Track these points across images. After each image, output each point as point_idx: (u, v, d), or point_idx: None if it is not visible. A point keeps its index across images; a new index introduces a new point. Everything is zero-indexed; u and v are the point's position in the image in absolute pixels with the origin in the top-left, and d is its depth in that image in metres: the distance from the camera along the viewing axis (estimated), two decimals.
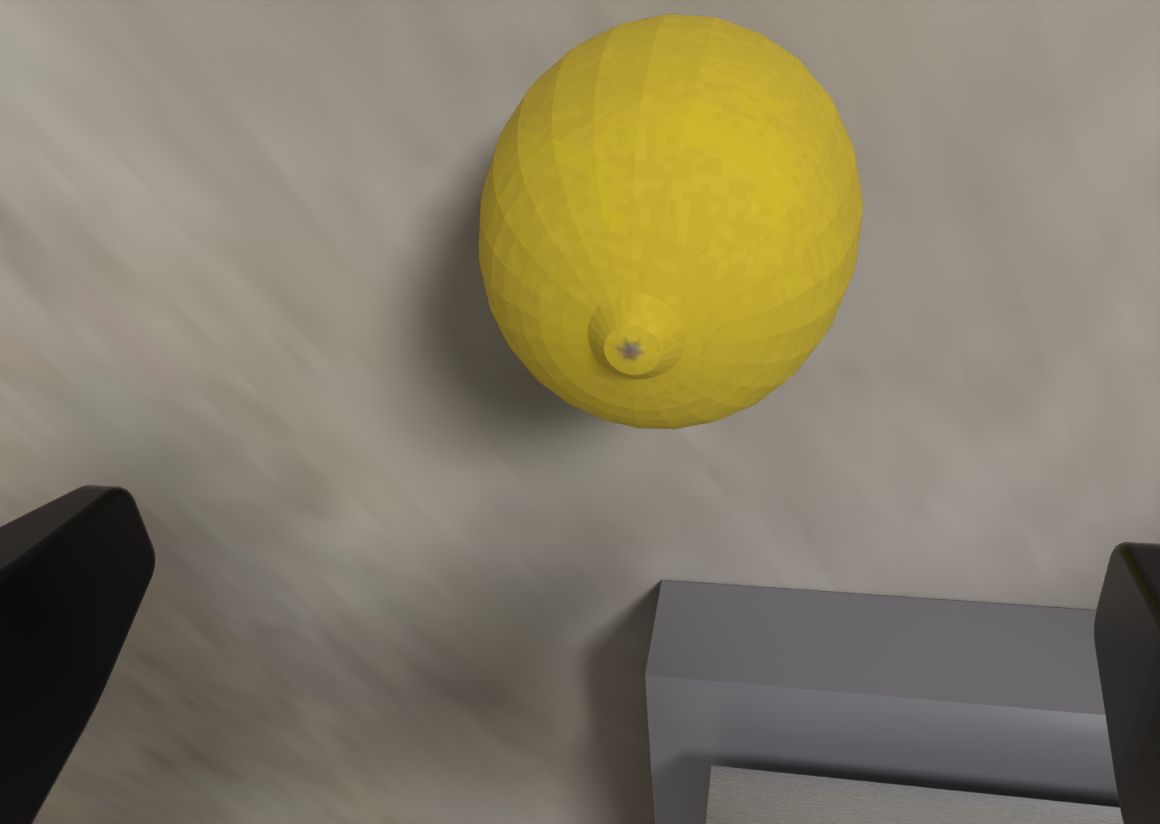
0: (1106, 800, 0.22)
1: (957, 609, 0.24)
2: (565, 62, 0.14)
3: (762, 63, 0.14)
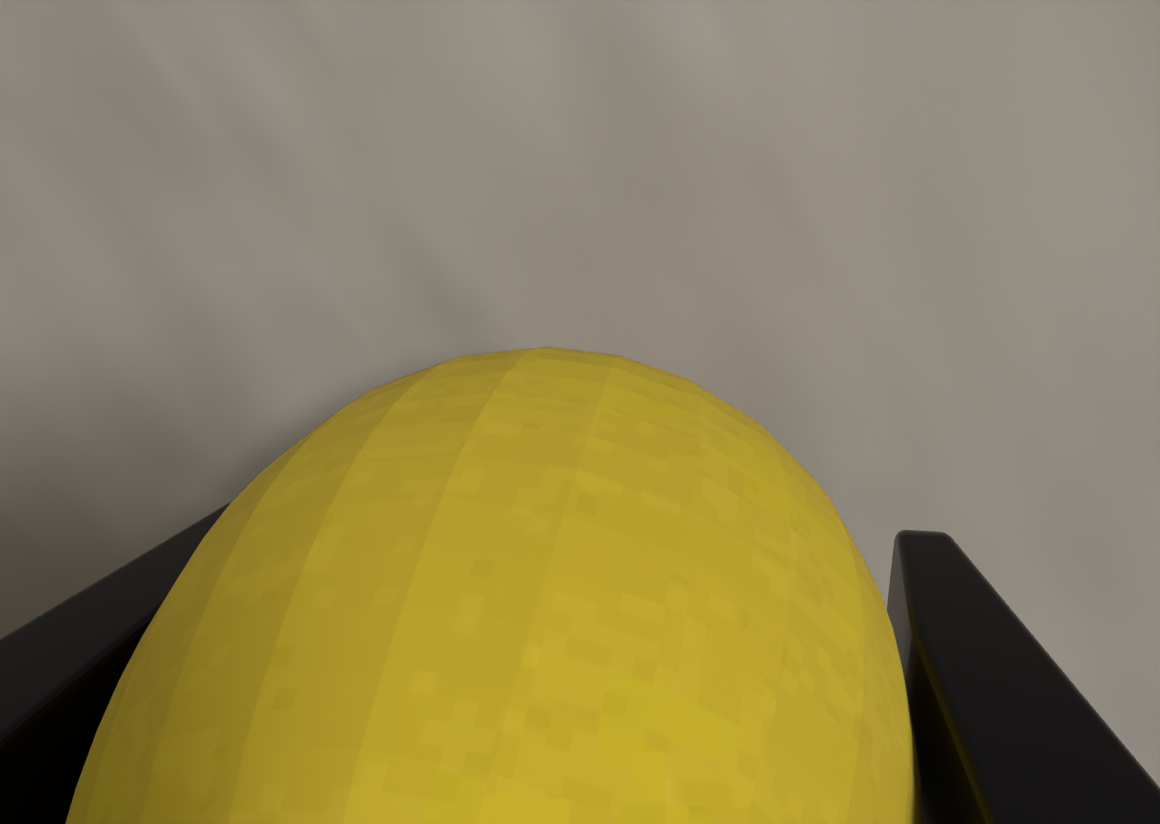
0: None
1: None
2: (251, 525, 0.06)
3: (693, 579, 0.06)
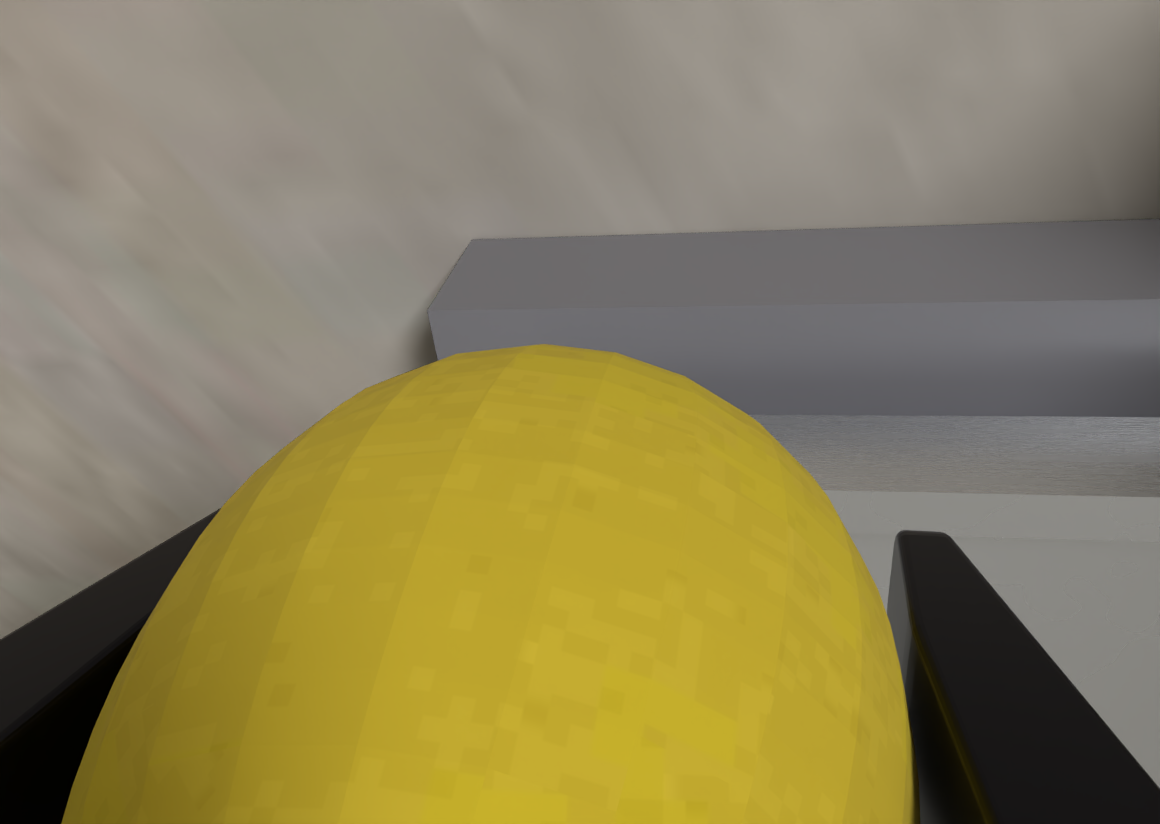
0: None
1: (815, 235, 0.19)
2: (248, 522, 0.06)
3: (689, 575, 0.06)
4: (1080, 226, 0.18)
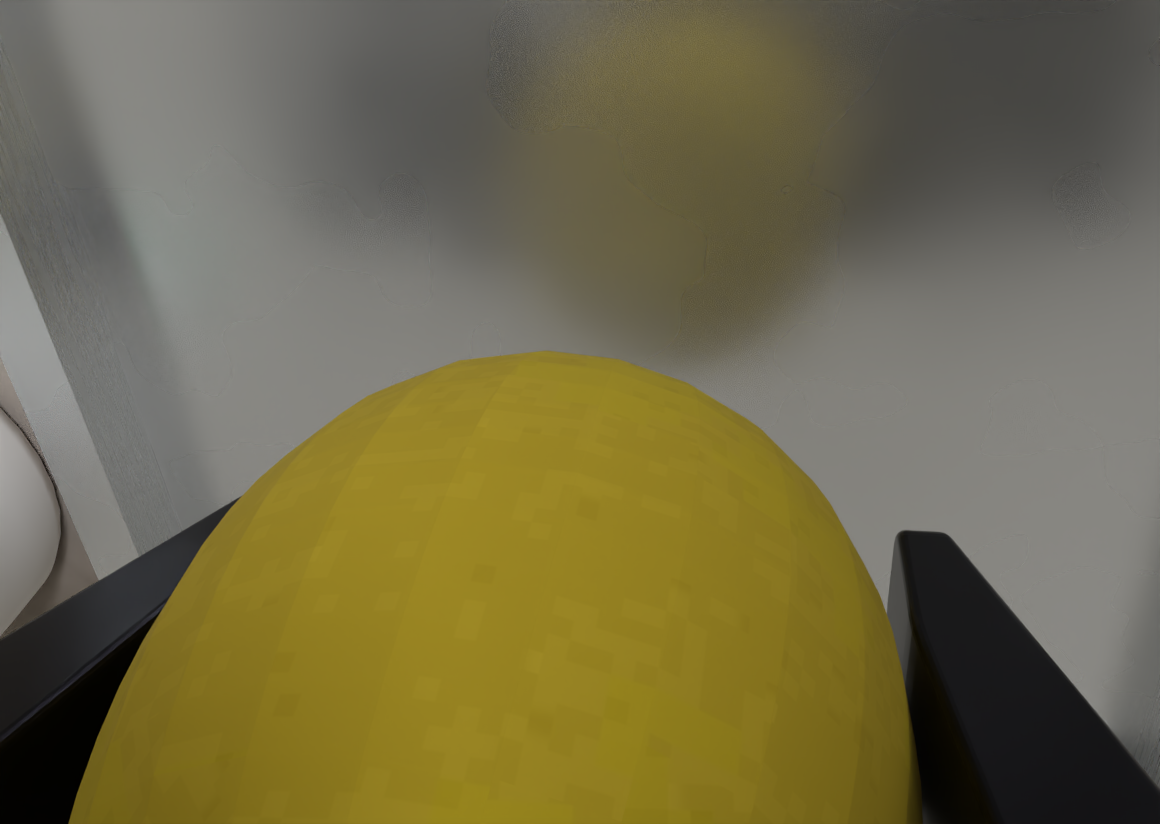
0: None
1: None
2: (251, 531, 0.06)
3: (693, 584, 0.06)
4: None
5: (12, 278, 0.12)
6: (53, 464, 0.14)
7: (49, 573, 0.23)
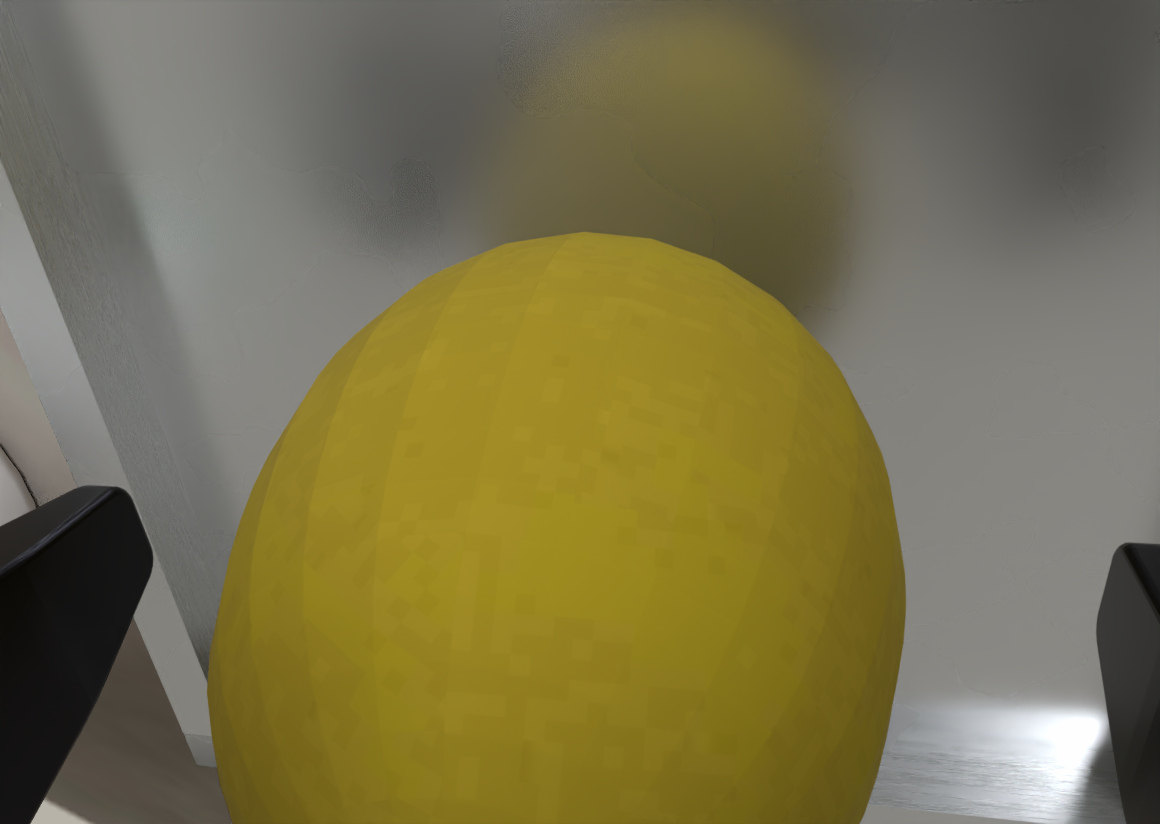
0: None
1: None
2: (366, 350, 0.08)
3: (722, 377, 0.07)
4: None
5: (27, 262, 0.12)
6: (66, 447, 0.14)
7: None
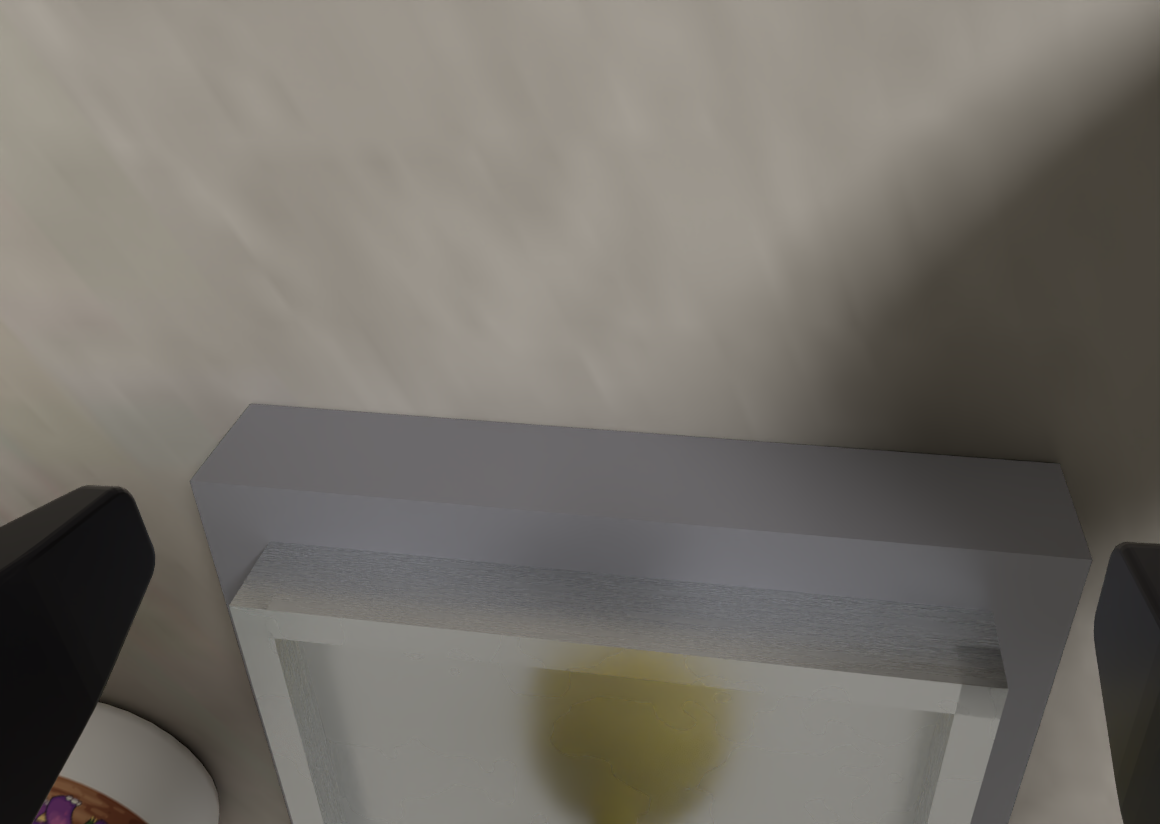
0: None
1: (525, 431, 0.23)
2: None
3: None
4: (730, 445, 0.23)
5: (308, 794, 0.24)
6: None
7: None
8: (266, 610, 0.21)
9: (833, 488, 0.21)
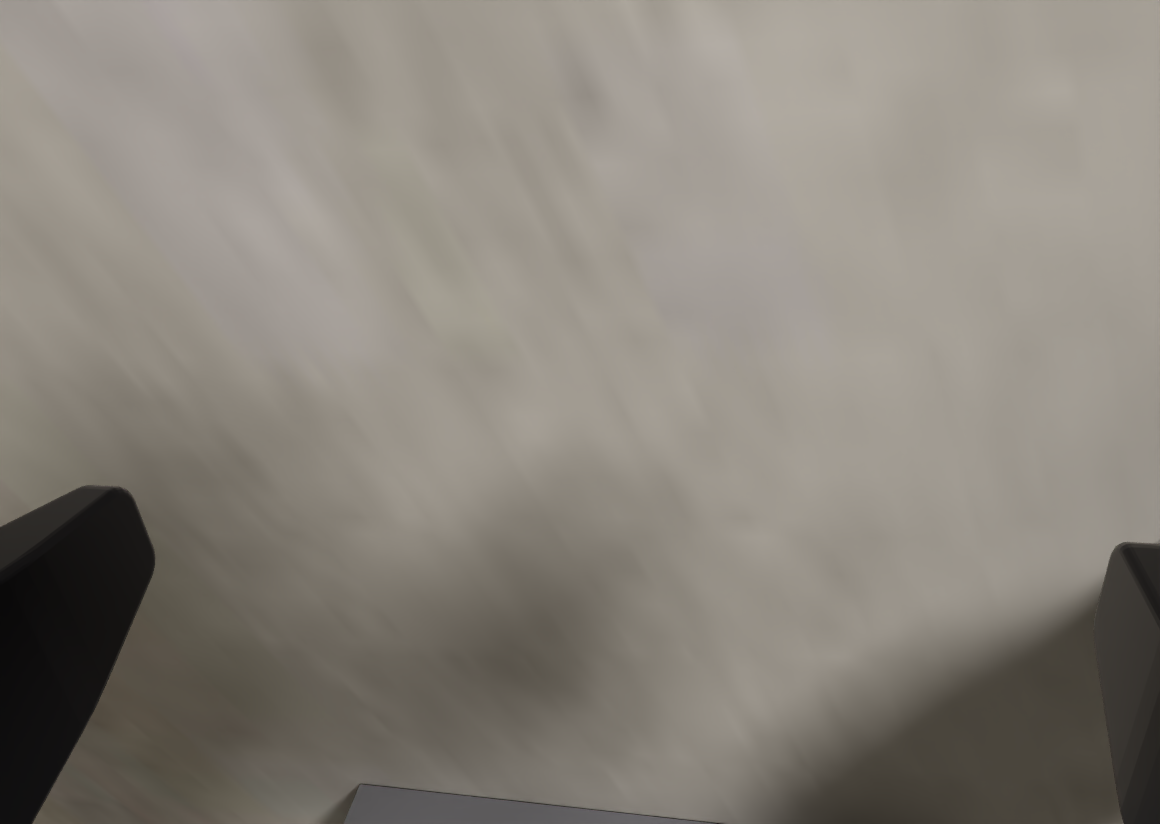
0: None
1: (566, 815, 0.31)
2: None
3: None
4: None
5: None
6: None
7: None
8: None
9: None
